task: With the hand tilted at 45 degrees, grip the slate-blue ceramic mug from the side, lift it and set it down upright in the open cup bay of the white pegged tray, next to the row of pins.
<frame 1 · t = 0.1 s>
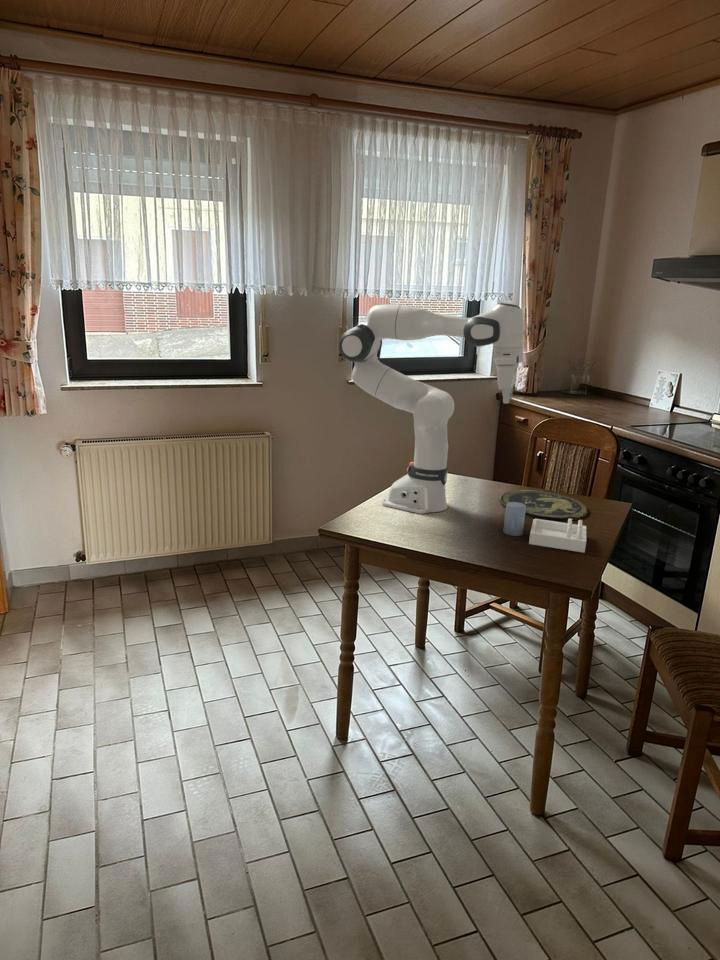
hand: (507, 400, 213), 39 cm above the table, tool pointing down, fingers open, 8 cm apart
decorative plate: (542, 508, 236), on the table
white pegged tray: (557, 540, 205), on the table
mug: (512, 532, 210), on the table
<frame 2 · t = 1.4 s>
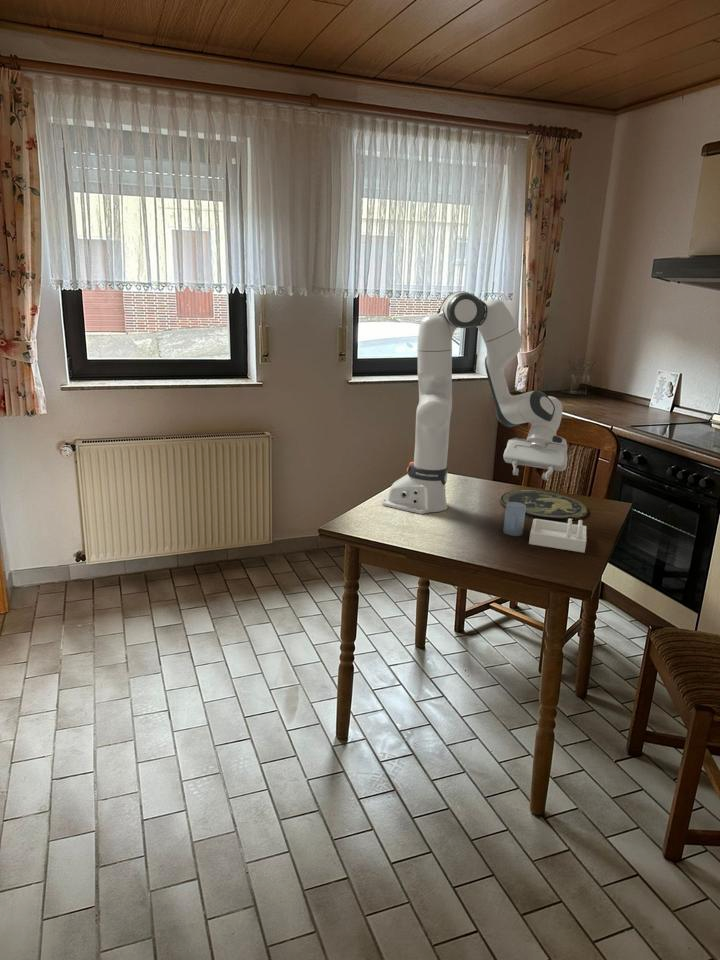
hand: (529, 476, 216), 15 cm above the table, tool tilted 45°, fingers open, 8 cm apart
nothing on the table moved.
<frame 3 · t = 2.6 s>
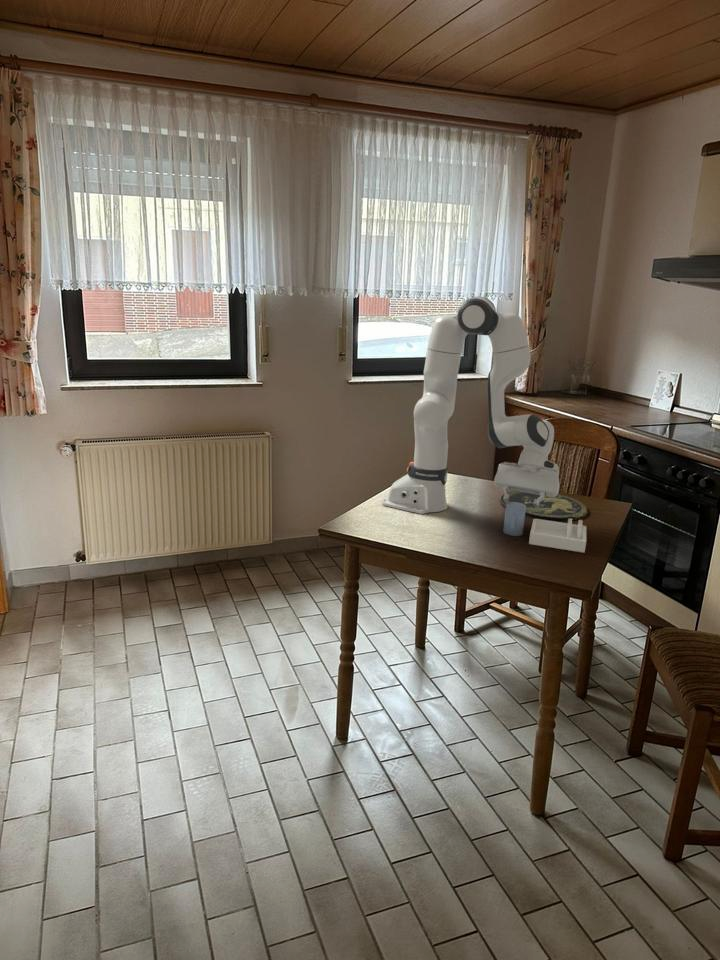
hand: (520, 502, 211), 9 cm above the table, tool tilted 45°, fingers open, 8 cm apart
nothing on the table moved.
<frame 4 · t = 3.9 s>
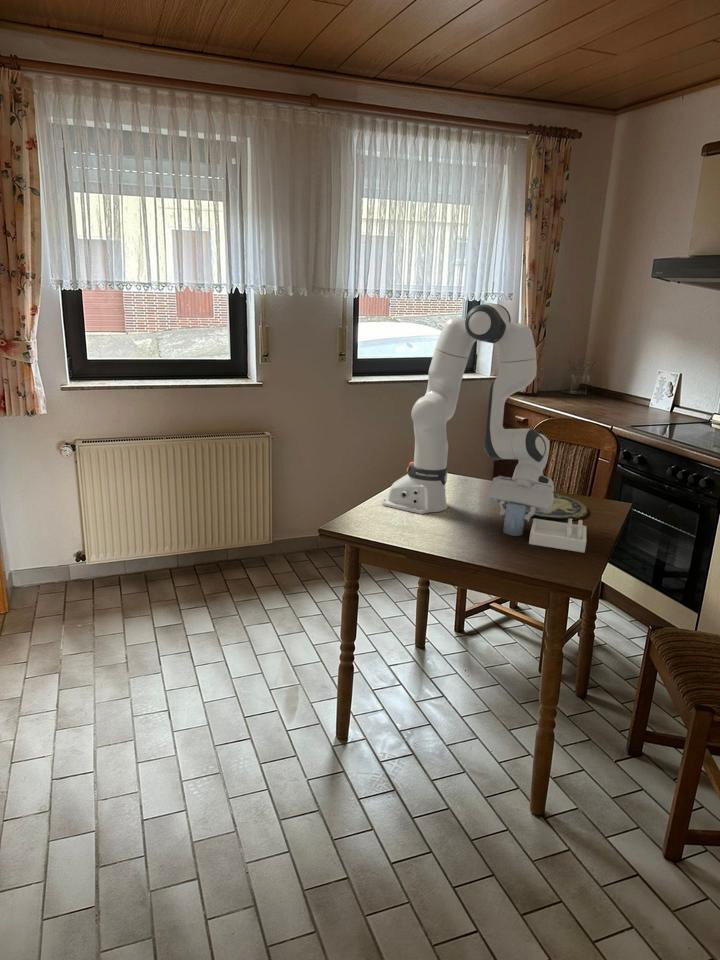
hand: (514, 518, 208), 5 cm above the table, tool tilted 45°, fingers closed on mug, 6 cm apart
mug: (512, 532, 210), on the table, touching gripper
everything else where it was.
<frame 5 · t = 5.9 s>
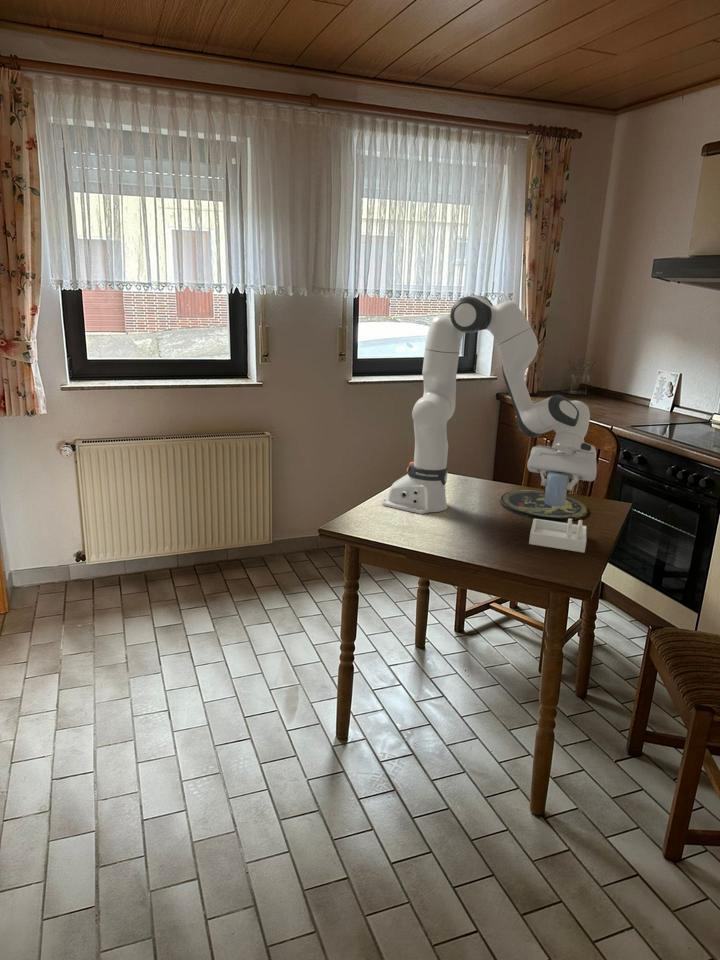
hand: (556, 487, 200), 17 cm above the table, tool tilted 45°, fingers closed on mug, 6 cm apart
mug: (554, 503, 203), point 12 cm above the table, touching gripper
everything else where it was.
when the fingers open (8 cm above the table, at t = 8.1 s): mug drops 1 cm, resting on white pegged tray.
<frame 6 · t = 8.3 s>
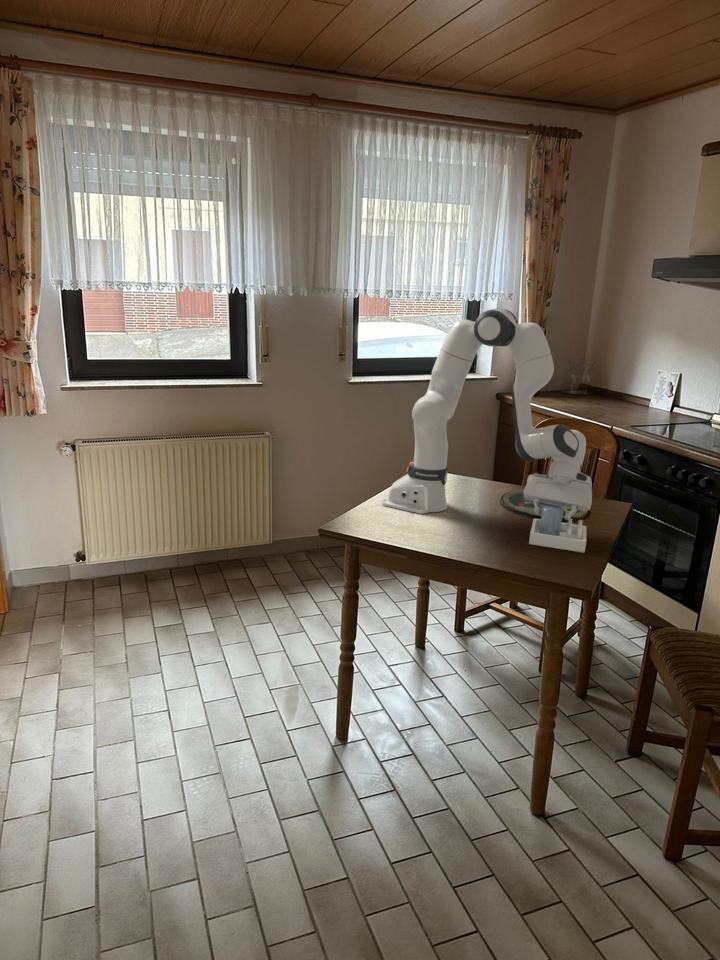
hand: (551, 516, 203), 8 cm above the table, tool tilted 45°, fingers open, 8 cm apart
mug: (549, 535, 206), point 1 cm above the table, touching white pegged tray
everything else where it was.
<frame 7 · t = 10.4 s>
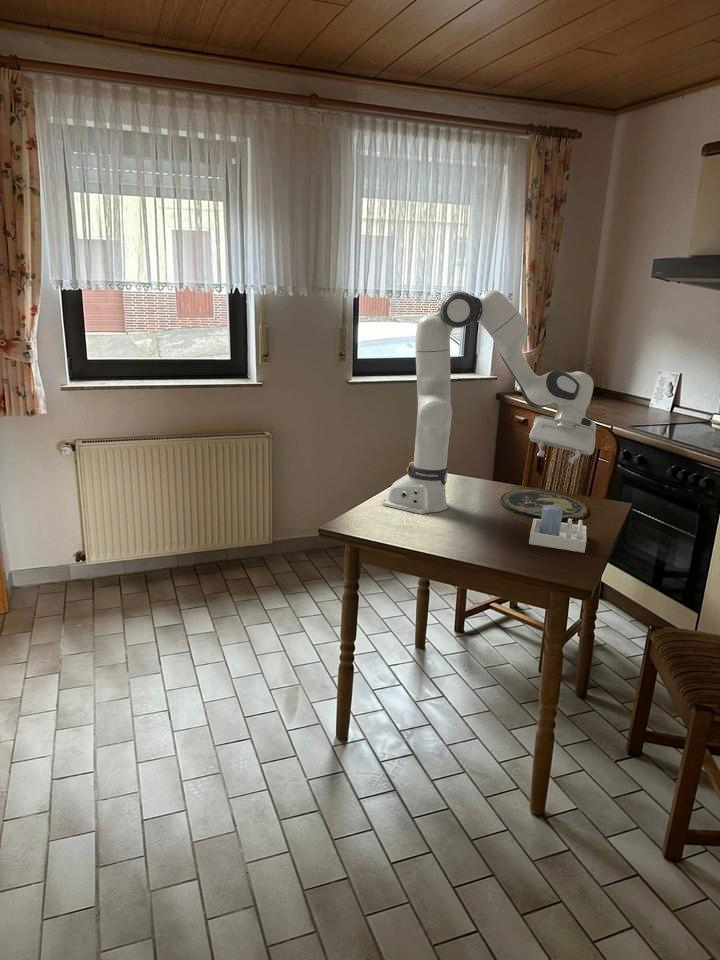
hand: (555, 460, 212), 22 cm above the table, tool tilted 35°, fingers open, 8 cm apart
nothing on the table moved.
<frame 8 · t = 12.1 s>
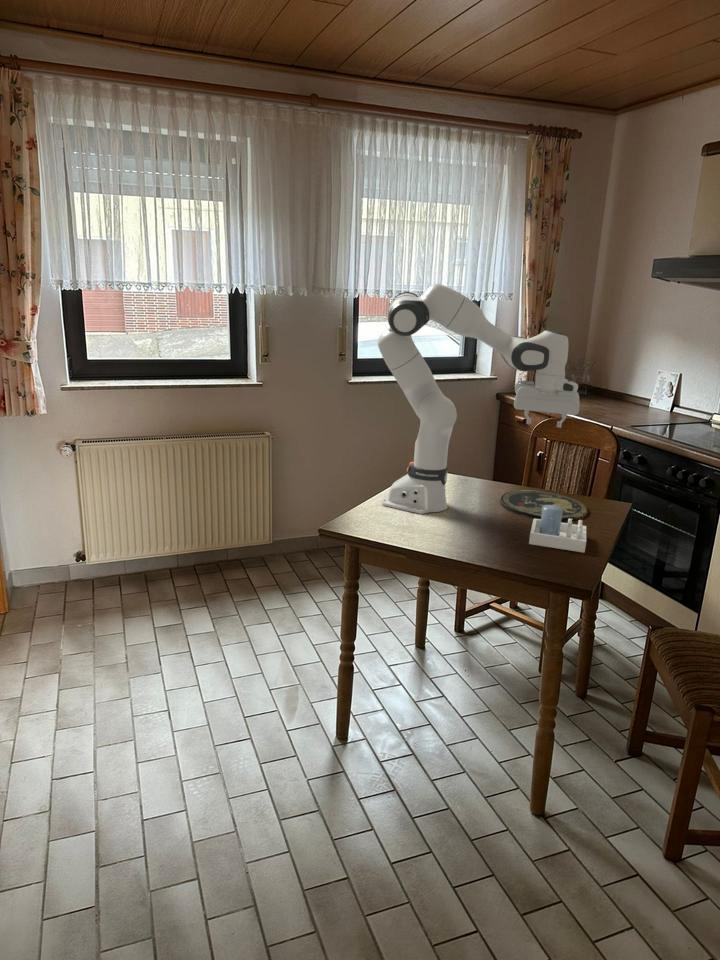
hand: (543, 425, 216), 31 cm above the table, tool pointing down, fingers open, 8 cm apart
nothing on the table moved.
at the end: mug inside the target area on the white pegged tray (0.4 cm from its centre), point 1.0 cm above the white pegged tray's base; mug tilted 1°; the gripper is holding nothing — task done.
